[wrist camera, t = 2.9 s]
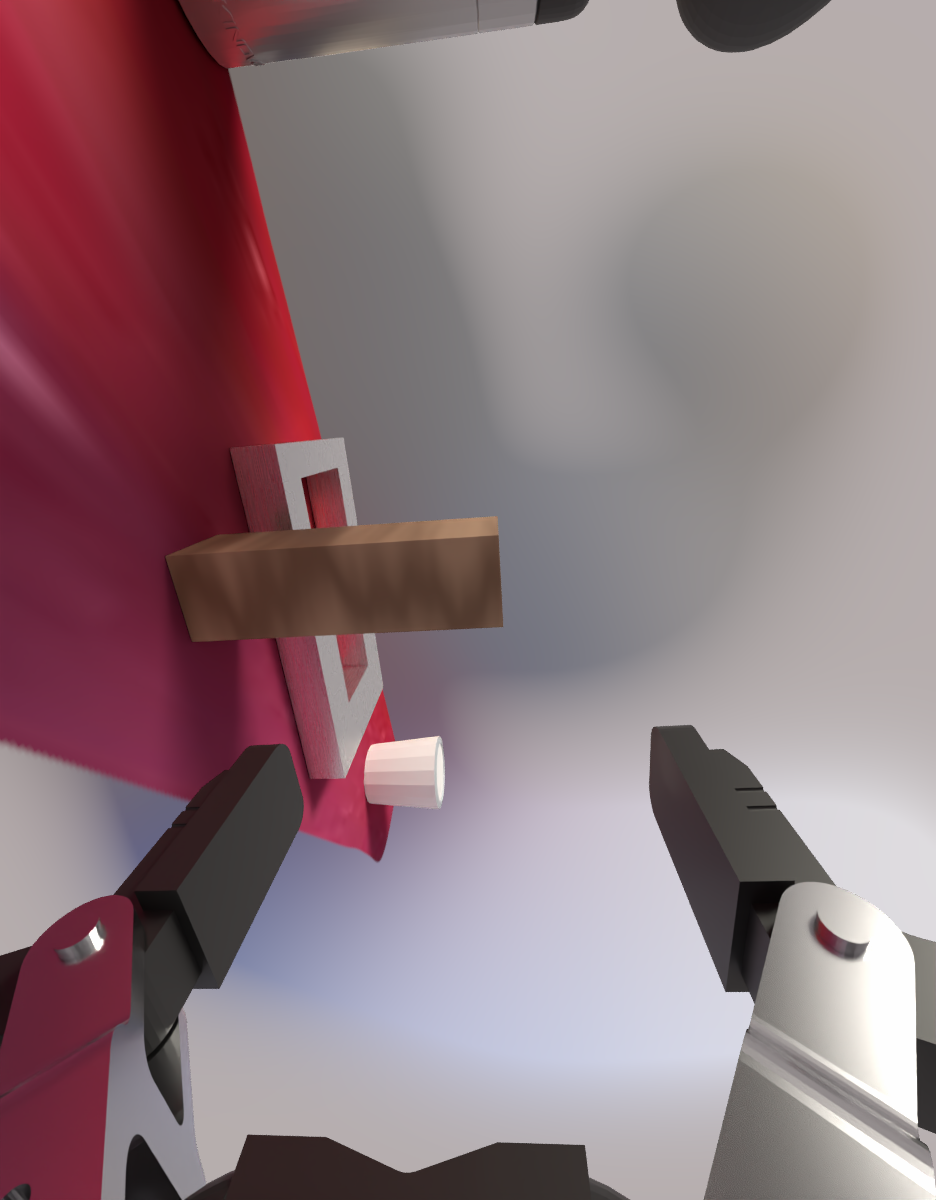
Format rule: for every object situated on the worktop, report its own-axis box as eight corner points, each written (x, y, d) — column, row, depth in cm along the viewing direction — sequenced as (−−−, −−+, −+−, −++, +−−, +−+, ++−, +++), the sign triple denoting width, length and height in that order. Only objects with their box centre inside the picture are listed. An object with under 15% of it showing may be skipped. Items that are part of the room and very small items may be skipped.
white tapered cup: (375, 724, 49) (441, 721, 48) (384, 774, 52) (447, 773, 51) (357, 771, 43) (433, 769, 42) (369, 826, 45) (440, 825, 45)
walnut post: (165, 556, 20) (498, 535, 19) (217, 534, 23) (497, 516, 22) (192, 641, 21) (503, 626, 20) (237, 608, 25) (501, 594, 24)
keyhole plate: (229, 448, 25) (274, 444, 25) (311, 440, 36) (343, 437, 36) (310, 779, 32) (344, 778, 32) (357, 687, 44) (383, 686, 43)
